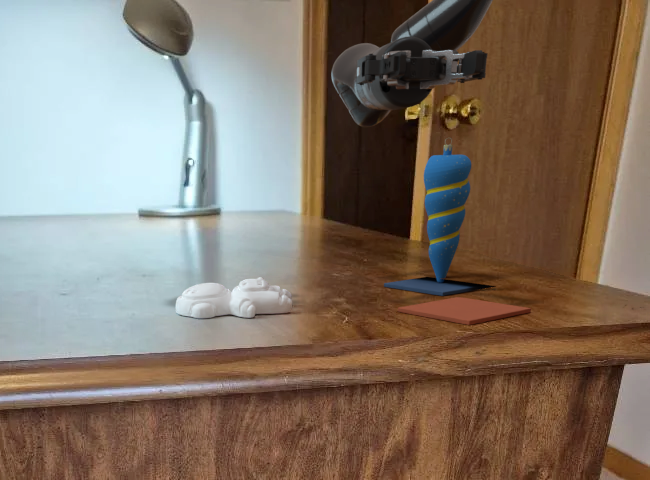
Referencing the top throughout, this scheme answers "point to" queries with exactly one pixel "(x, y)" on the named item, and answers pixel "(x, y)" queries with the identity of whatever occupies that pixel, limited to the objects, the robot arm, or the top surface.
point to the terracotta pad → (464, 310)
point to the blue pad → (436, 286)
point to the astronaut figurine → (234, 300)
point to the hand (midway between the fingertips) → (441, 62)
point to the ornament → (445, 206)
